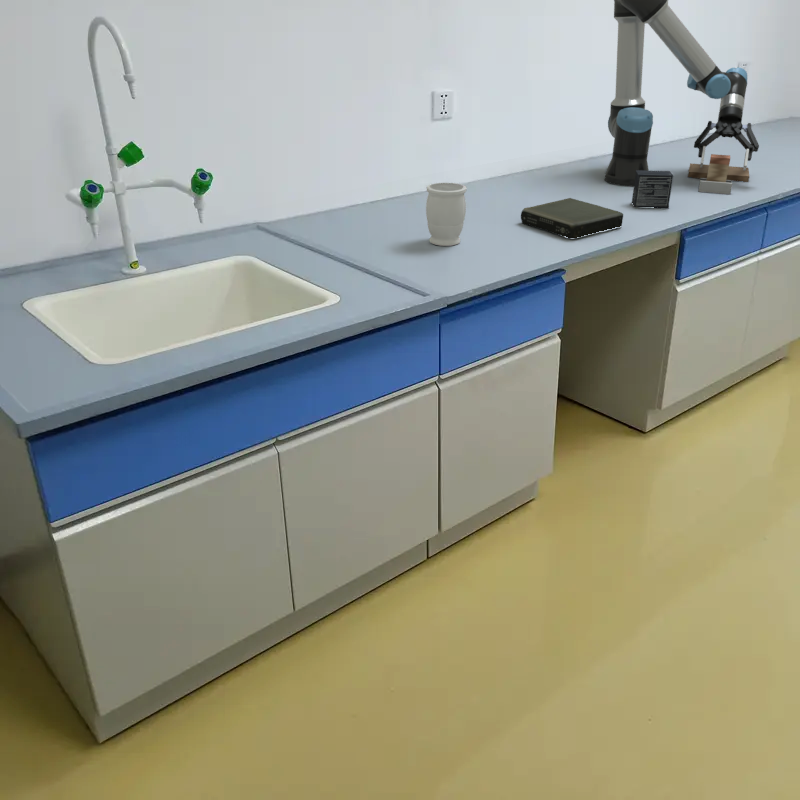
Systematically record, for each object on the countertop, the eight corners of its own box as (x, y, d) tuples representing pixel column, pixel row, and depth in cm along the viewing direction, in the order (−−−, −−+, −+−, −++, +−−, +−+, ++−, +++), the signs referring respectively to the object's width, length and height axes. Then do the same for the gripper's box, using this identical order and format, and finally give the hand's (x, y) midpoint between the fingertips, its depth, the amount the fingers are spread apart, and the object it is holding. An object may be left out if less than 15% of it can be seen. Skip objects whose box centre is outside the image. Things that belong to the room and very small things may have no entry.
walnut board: (687, 177, 286) (688, 171, 285) (689, 168, 298) (690, 163, 297) (748, 182, 281) (749, 176, 280) (747, 173, 292) (748, 167, 291)
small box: (664, 203, 256) (670, 170, 251) (668, 209, 250) (674, 175, 245) (630, 202, 257) (635, 169, 252) (634, 208, 251) (638, 174, 246)
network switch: (627, 227, 235) (630, 210, 232) (580, 245, 220) (582, 227, 218) (561, 211, 249) (562, 195, 247) (513, 226, 235) (514, 209, 233)
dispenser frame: (698, 191, 269) (700, 181, 267) (699, 185, 277) (700, 174, 275) (730, 194, 266) (732, 183, 264) (730, 187, 274) (732, 177, 272)
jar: (462, 236, 226) (464, 181, 218) (466, 247, 217) (468, 191, 209) (424, 236, 225) (425, 182, 218) (426, 248, 216) (427, 191, 209)
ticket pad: (704, 190, 270) (710, 157, 265) (705, 187, 274) (711, 154, 269) (723, 192, 268) (730, 158, 263) (723, 188, 273) (730, 155, 267)
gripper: (768, 120, 274) (761, 175, 269) (691, 116, 281) (682, 170, 276) (772, 106, 267) (765, 163, 262) (693, 103, 274) (684, 157, 269)
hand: (723, 166), depth 269 cm, fingers open, 13 cm apart
